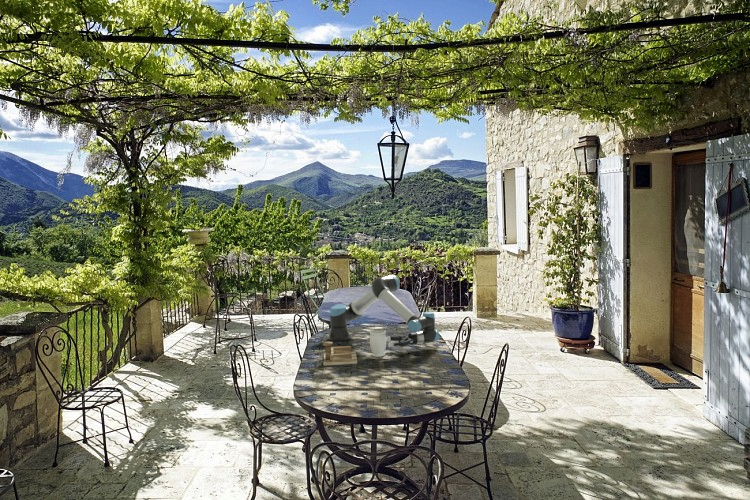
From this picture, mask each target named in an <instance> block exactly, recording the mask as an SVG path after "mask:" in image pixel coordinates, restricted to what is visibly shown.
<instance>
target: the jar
mask: <svg viewBox="0 0 750 500" xmlns="http://www.w3.org/2000/svg"><path fill="white" fill-rule="evenodd" d="M386 334H387V331H386V330H385V329H373V330H370V331H369V344H370V350H371V352H372V354H371V356H372V357H375V358H377V357H379V358H380V357H385V356H386V353H385V352H386V349H387V348H386V347H387V341H386V337H387V335H386Z"/></svg>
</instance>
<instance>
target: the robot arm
mask: <svg viewBox="0 0 750 500" xmlns="http://www.w3.org/2000/svg"><path fill="white" fill-rule="evenodd" d="M400 284H401V283H400V280H399V278H398V277H397V276H396V275H395V274H389V275H385V276H383V275H382V276H378V277H376V278H375V279H373V281H372V283H371V289H370V290H369V291H368V292H366V293H365V294H363V296H361V297H360V298H358V299H356V300H353V301H351V302H350V303H349V304H346V305H345V304H341V303H340V304H336V305H333V306H331V307H330V309H329V319H330V321H329V322H330V329H329V332H328V333H329V334H328V340H329V341H330V342H343V341H348V340H350V339H351V333H350V332H349V328H348V322H351V321H356V320H357V321H358V320H360V318H362V317H363V315H364V313H365V310H367V309H368V308H369V307H371V306H372V305H373V304H374V303H376V302H377V301H379V300H380V301H382V302H383V303H384V304H386V306H388V307H389V308H390V309H391V310H392V311H393V312H394V313H395V314H396V315H397V316H398V317H400V319H402V320H403V321H404V322H405V323H406V324H407V328H408V330H409V331H410V332H409V333H408V335H405V334H400V335H397V334H395V335H394V334H391V335H389V336H386V342H387V344H388V346H387V347H388V348H394V347H405V346H408V345H411V346H412V345H421V344H428V343H435V342H438V341H439V340H440V333H439V331H438V329H436V318H435V317H436V316H435V313H434V312H433V311H423V313H422V317H418V316H417V315H416V314H415V313H414V312H412V310H411V309H409V307H408V306H406V305H405V304H404V303H403V302H402V301H401V300H400V299H399V298H398V297H396V296H395V295H394V294H393V293H394V292H397V291H398V290H399V289H400Z"/></svg>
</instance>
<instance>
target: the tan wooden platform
mask: <svg viewBox="0 0 750 500" xmlns="http://www.w3.org/2000/svg"><path fill="white" fill-rule="evenodd" d="M333 342H334V341H324V342H322V346H323V347H324V353H323V362H322V363H323V366H325V367H326V366H337V365H338V366H339V365H351V364H353V365H354V364H355V365H356V364H358V359H357V351H352V347H351V345H345V346H333V345H334V344H333Z"/></svg>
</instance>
